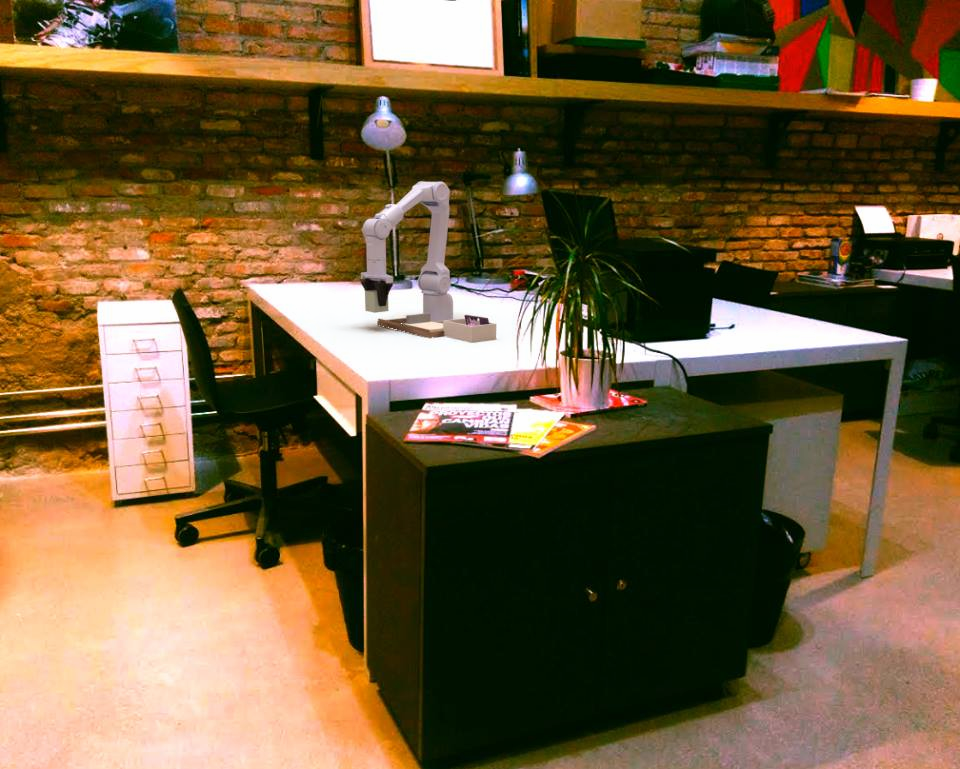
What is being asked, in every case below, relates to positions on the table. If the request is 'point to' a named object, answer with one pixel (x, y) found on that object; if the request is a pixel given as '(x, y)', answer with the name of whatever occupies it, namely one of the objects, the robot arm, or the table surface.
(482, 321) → the black piece
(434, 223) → the robot arm
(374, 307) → the sage block
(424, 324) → the lid
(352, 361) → the table surface
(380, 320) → the board
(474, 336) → the beige open box
